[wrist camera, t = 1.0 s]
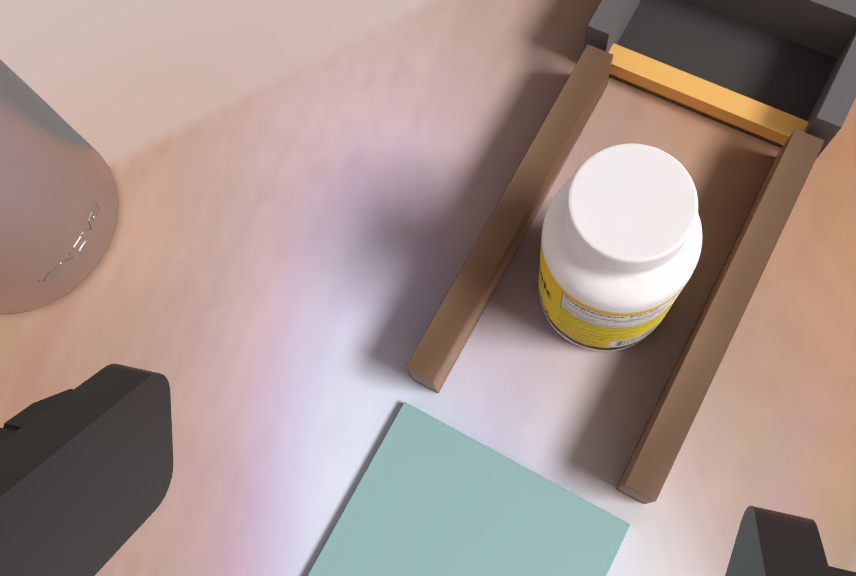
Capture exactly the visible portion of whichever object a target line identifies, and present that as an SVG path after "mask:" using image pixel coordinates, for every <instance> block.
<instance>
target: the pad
mask: <svg viewBox="0 0 856 576" xmlns="http://www.w3.org/2000/svg"><path fill="white" fill-rule="evenodd" d="M629 526H630V524H628V523H626V522H624V521H622V520H621V519H619V518H617V517H615V516H613V515H611V514H610V513H608V512H606V511H604V510H602V509H600V508H599V507H597V506H595V505H593V504H591V503H589V502H588V501H586V500H584V499H582V498H580V497H578V496H577V495H575V494H573V493H571V492H569V491H567V490H566V489H564V488H562V487H560V486H558V485H556V484H555V483H553V482H551V481H549V480H547V479H545V478H544V477H542V476H540V475H538V474H536V473H534V472H532V471H531V470H529V469H527V468H525V467H523V466H521V465H520V464H518V463H516V462H514V461H512V460H510V459H509V458H507V457H505V456H503V455H501V454H499V453H498V452H496V451H494V450H492V449H490V448H488V447H487V446H485V445H483V444H481V443H479V442H477V441H476V440H474V439H472V438H470V437H468V436H466V435H465V434H463V433H461V432H459V431H457V430H455V429H454V428H452V427H450V426H448V425H446V424H444V423H443V422H441V421H439V420H437V419H435V418H433V417H432V416H430V415H428V414H426V413H424V412H422V411H421V410H419V409H417V408H415V407H413V406H411V405H410V404H408V403H406V402H404V404H403V406H402V407H401V409H400V411H399V413H398V415H397V416H396V418H395V420H394V422H393V424H392V425H391V427H390V429H389V431H388V433H387V434H386V436H385V438H384V440H383V442H382V443H381V445H380V447H379V449H378V451H377V452H376V454H375V456H374V458H373V460H372V461H371V463H370V465H369V467H368V468H367V470H366V472H365V474H364V476H363V477H362V479H361V481H360V483H359V485H358V486H357V488H356V490H355V492H354V494H353V495H352V497H351V499H350V501H349V503H348V504H347V506H346V508H345V510H344V512H343V513H342V515H341V517H340V519H339V521H338V522H337V524H336V526H335V528H334V529H333V531H332V533H331V535H330V537H329V538H328V540H327V542H326V544H325V546H324V547H323V549H322V551H321V553H320V555H319V556H318V558H317V560H316V562H315V564H314V565H313V567H312V569H311V571H310V573H309V574H308V576H606V575H607V573H608V570H609V568H610V566H611V564H612V562H613V560H614V558H615V556H616V553H617V551H618V549H619V547H620V545H621V543H622V541H623V539H624V537H625V534H626V532H627V530H628V528H629Z"/></svg>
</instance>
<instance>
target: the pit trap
mask: <svg viewBox="0 0 856 576" xmlns="http://www.w3.org/2000/svg"><path fill="white" fill-rule="evenodd" d="M588 44H589V45H591V46H593V47H596V48H598V49H601V50H603V51H606V52H608V53H611V54H613V59H612V64H611V69H610V73H609V76H610V77H613V78H615V79H617V80H620V81H622V82H625V83H627V84H630V85H632V86H634V87H637V88H639V89H642V90H644V91H646V92H649V93H651V94H654V95H656V96H659V97H661V98H663V99H666V100H668V101H671V102H673V103H675V104H678V105H680V106H683V107H685V108H688V109H690V110H692V111H695V112H697V113H700V114H702V115H704V116H707V117H709V118H712V119H714V120H717V121H719V122H721V123H724V124H726V125H729V126H731V127H733V128H736V129H738V130H741V131H743V132H746V133H748V134H750V135H753V136H755V137H758V138H760V139H763V140H765V141H767V142H770V143H772V144H775V145H777V146H779V147H783V146H784V145H785V143H786V142H787V140H788V139H789V137H790V136H791V134H792V133H793V132H794V130H795V129H798V130H800V131H802V132H805V133H807V134H810V135H812V136H815V137H817V138H820V139H822V140H825V141H824V143H823V145H822V147H821V149H820V151H819V153H818V156H819V155H820V153H821V152H822V151H823V150H824V148H825V147H826V146H827V145H828V143H829V142H830V141H831V140H832V138H833V137H834V136H835V135H836V133H837V132H838V131H839V130H840V129H841V127H842V125H843V123H844V121H845V119H846V116H847V114H848V112H849V110H850V108H851V106H852V104H853V101H854V99H855V97H856V0H602V1H601V3H600V5H599V6H598V8H597V10H596V12H595V13H594V15H593V17H592V19H591V20H590V22H589V24H588V26H587V33H586V40H585V46H584V50H585V48H586V46H587V45H588ZM818 156H817V157H818Z"/></svg>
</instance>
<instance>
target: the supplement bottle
mask: <svg viewBox="0 0 856 576" xmlns="http://www.w3.org/2000/svg"><path fill="white" fill-rule="evenodd" d="M701 248H702V226H701V221H700V217H699V214H698V197H697V191H696V188H695V185H694V182H693V180H692V178H691V176H690V175H689V173H688V172H687V170H686V169H685V168H684V167H683V165H682V164H681V163H680V162H679V161H677V160H676V159H675V158H674V157H672V156H671V155H669V154H668V153H666V152H664V151H662V150H660V149H658V148H655V147H652V146H648V145H643V144H634V143H629V144H619V145H615V146H610V147H608V148H605V149H603V150H601V151H599V152H597V153H595V154H594V155H592V156H591V157H590V158H588V159H587V160H586V161H585V162H584V163H583V164H582V165H581V166H580V167H579V169H578V170H577V171H576V173H575V175H574V176H573V177H572V178H571V179H570V180H568V181H567V182H566V183H565V184H564V185H563V186H562V187H561V188H560V190H559V191H558V192H557V193H556V195H555V196H554V198H553V199H552V201H551V203H550V205H549V207H548V209H547V212H546V215H545V219H544V223H543V229H542V238H541V251H540V265H539V278H538V292H539V300H540V304H541V307H542V310H543V312H544V314H545V316H546V318H547V320H548V321H549V323H550V324H551V326H552V327H553V328H554V329H555V330H556V331H557V332H558V333H559V334H560V335H561V336H563V337H564V338H565V339H567V340H568V341H570V342H571V343H573V344H575V345H577V346H580V347H582V348H586V349H590V350H594V351H602V352H607V351H617V350H622V349H626V348H629V347H631V346H633V345H636V344H637V343H639V342H641V341H642V340H644V339H645V338H646V337H648V336H649V335H650V334H651V333H652V332H653V331H654V330H655V329H656V328H657V326H658V325H659V324H660V322H661V321H662V320H663V318H664V317H665V315H666V314H667V312H668V311H669V309H670V308H671V306H672V304H673V303H674V302H675V300H676V298H677V297H678V295H679V294H680V292H681V291H682V289H683V288H684V286H685V285H686V283H687V282H688V281H689V279H690V277H691V276H692V273H693V271H694V269H695V267H696V265H697V263H698V260H699V257H700V253H701Z"/></svg>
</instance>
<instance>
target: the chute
mask: <svg viewBox="0 0 856 576" xmlns="http://www.w3.org/2000/svg"><path fill="white" fill-rule="evenodd" d="M612 59H613V54H611V53H608V52H606V51H603V50H601V49H598V48H596V47H593V46H591V45H589V44H588V45H587V46H586V48H585V50H584V52H583V54H582V55H581V57H580V59H579V61H578V62H577V64H576V66H575V68H574V70H573V71H572V73H571V75H570V77H569V78H568V80H567V82H566V84H565V86H564V87H563V89H562V91H561V93H560V94H559V96H558V98H557V100H556V102H555V103H554V105H553V107H552V109H551V110H550V112H549V114H548V116H547V118H546V119H545V121H544V123H543V125H542V126H541V128H540V130H539V132H538V134H537V135H536V137H535V139H534V141H533V142H532V144H531V146H530V148H529V150H528V151H527V153H526V155H525V157H524V158H523V160H522V162H521V164H520V166H519V167H518V169H517V171H516V173H515V174H514V176H513V178H512V180H511V182H510V183H509V185H508V187H507V189H506V190H505V192H504V194H503V196H502V198H501V199H500V201H499V203H498V205H497V206H496V208H495V210H494V212H493V214H492V215H491V217H490V219H489V221H488V222H487V224H486V226H485V228H484V230H483V231H482V233H481V235H480V237H479V238H478V240H477V242H476V244H475V246H474V247H473V249H472V251H471V253H470V254H469V256H468V258H467V260H466V262H465V263H464V265H463V267H462V269H461V270H460V272H459V274H458V276H457V278H456V279H455V281H454V283H453V285H452V286H451V288H450V290H449V292H448V294H447V295H446V297H445V299H444V301H443V302H442V304H441V306H440V308H439V310H438V311H437V313H436V315H435V317H434V318H433V320H432V322H431V324H430V326H429V327H428V329H427V331H426V333H425V334H424V336H423V338H422V340H421V341H420V343H419V345H418V347H417V349H416V350H415V352H414V354H413V356H412V357H411V359H410V361H409V363H408V365H407V366H406V369H407V370H408V372H409V374H410V375H411V377H412V379H413V380H415V381H417V382H418V383H420V384H422V385H424V386H426V387H428V388H430V389H431V390H433V391H435V392H437V393H439V391H440V389H441V387H442V385H443V384H444V382H445V380H446V378H447V376H448V374H449V373H450V371H451V369H452V367H453V365H454V363H455V362H456V360H457V358H458V356H459V354H460V353H461V351H462V349H463V347H464V345H465V343H466V342H467V340H468V338H469V336H470V334H471V332H472V331H473V329H474V327H475V325H476V323H477V322H478V320H479V318H480V316H481V314H482V312H483V311H484V309H485V307H486V305H487V303H488V301H489V300H490V298H491V296H492V294H493V292H494V291H495V289H496V287H497V285H498V283H499V281H500V280H501V278H502V276H503V274H504V272H505V271H506V269H507V267H508V265H509V263H510V261H511V260H512V258H513V256H514V254H515V252H516V250H517V249H518V247H519V245H520V243H521V241H522V240H523V238H524V236H525V234H526V232H527V230H528V229H529V227H530V225H531V223H532V221H533V219H534V218H535V216H536V214H537V212H538V210H539V209H540V207H541V205H542V203H543V201H544V199H545V198H546V196H547V194H548V192H549V190H550V188H551V187H552V185H553V183H554V181H555V179H556V178H557V176H558V174H559V172H560V170H561V168H562V167H563V165H564V163H565V161H566V159H567V157H568V156H569V154H570V152H571V150H572V148H573V147H574V145H575V143H576V141H577V139H578V137H579V136H580V134H581V132H582V130H583V128H584V127H585V125H586V123H587V121H588V119H589V117H590V116H591V114H592V112H593V110H594V108H595V106H596V105H597V103H598V101H599V99H600V97H601V96H602V94H603V92H604V90H605V88H606V86H607V83H608V78H609V73H610V69H611V64H612ZM824 141H825V140H822V139H820V138H817V137H815V136H812V135H810V134H807V133H805V132H802V131H800V130H798V129H795V130H794V132H793V133H792V134H791V136H790V137H789V139H788V140H787V142H786V143H785V145H784V146H783V147H782V149H781V150H780V152H779V153H778V155H777V156H776V158H775V160H774V162H773V164H772V166H771V168H770V170H769V173H768V175H767V177H766V179H765V181H764V183H763V185H762V187H761V189H760V191H759V193H758V195H757V197H756V200H755V202H754V204H753V206H752V208H751V210H750V212H749V214H748V216H747V218H746V220H745V222H744V224H743V227H742V229H741V231H740V233H739V235H738V237H737V239H736V241H735V243H734V245H733V247H732V249H731V252H730V254H729V256H728V258H727V260H726V262H725V264H724V266H723V268H722V270H721V272H720V274H719V276H718V279H717V281H716V283H715V285H714V287H713V289H712V291H711V293H710V295H709V297H708V299H707V301H706V303H705V306H704V308H703V310H702V312H701V314H700V316H699V318H698V320H697V322H696V324H695V326H694V328H693V330H692V333H691V335H690V337H689V339H688V341H687V343H686V345H685V347H684V349H683V351H682V353H681V355H680V358H679V360H678V362H677V364H676V366H675V368H674V370H673V372H672V374H671V376H670V378H669V380H668V382H667V385H666V387H665V389H664V391H663V393H662V395H661V397H660V399H659V401H658V403H657V405H656V407H655V409H654V412H653V414H652V416H651V418H650V420H649V422H648V424H647V426H646V428H645V430H644V432H643V434H642V436H641V439H640V441H639V443H638V445H637V447H636V449H635V451H634V453H633V455H632V457H631V459H630V461H629V463H628V466H627V468H626V470H625V472H624V474H623V476H622V478H621V480H620V482H619V484H618V486H617V488H616V489H618V490H620V491H622V492H623V493H625V494H627V495H629V496H631V497H633V498H635V499H637V500H638V501H640V502H642V503H644V504H647V503H650V502H654V501H656V500H657V498H658V495H659V493H660V491H661V489H662V487H663V485H664V483H665V480H666V478H667V476H668V474H669V472H670V470H671V468H672V465H673V463H674V461H675V459H676V457H677V455H678V453H679V451H680V448H681V446H682V444H683V442H684V440H685V438H686V436H687V433H688V431H689V429H690V427H691V425H692V423H693V421H694V418H695V416H696V414H697V412H698V410H699V408H700V406H701V404H702V401H703V399H704V397H705V395H706V393H707V391H708V389H709V386H710V384H711V382H712V380H713V378H714V376H715V374H716V371H717V369H718V367H719V365H720V363H721V361H722V359H723V356H724V354H725V352H726V350H727V348H728V346H729V344H730V342H731V339H732V337H733V335H734V333H735V331H736V329H737V327H738V324H739V322H740V320H741V318H742V316H743V314H744V312H745V309H746V307H747V305H748V303H749V301H750V299H751V297H752V295H753V292H754V290H755V288H756V286H757V284H758V282H759V280H760V277H761V275H762V273H763V271H764V269H765V267H766V265H767V262H768V260H769V258H770V256H771V254H772V252H773V250H774V247H775V245H776V243H777V241H778V239H779V237H780V235H781V233H782V230H783V228H784V226H785V224H786V222H787V220H788V218H789V215H790V213H791V211H792V209H793V207H794V205H795V203H796V200H797V198H798V196H799V194H800V192H801V190H802V188H803V186H804V183H805V181H806V179H807V177H808V175H809V173H810V171H811V168H812V166H813V164H814V162H815V160H816V158H817V156H818V153H819V151H820V149H821V147H822V145H823V143H824Z"/></svg>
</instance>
